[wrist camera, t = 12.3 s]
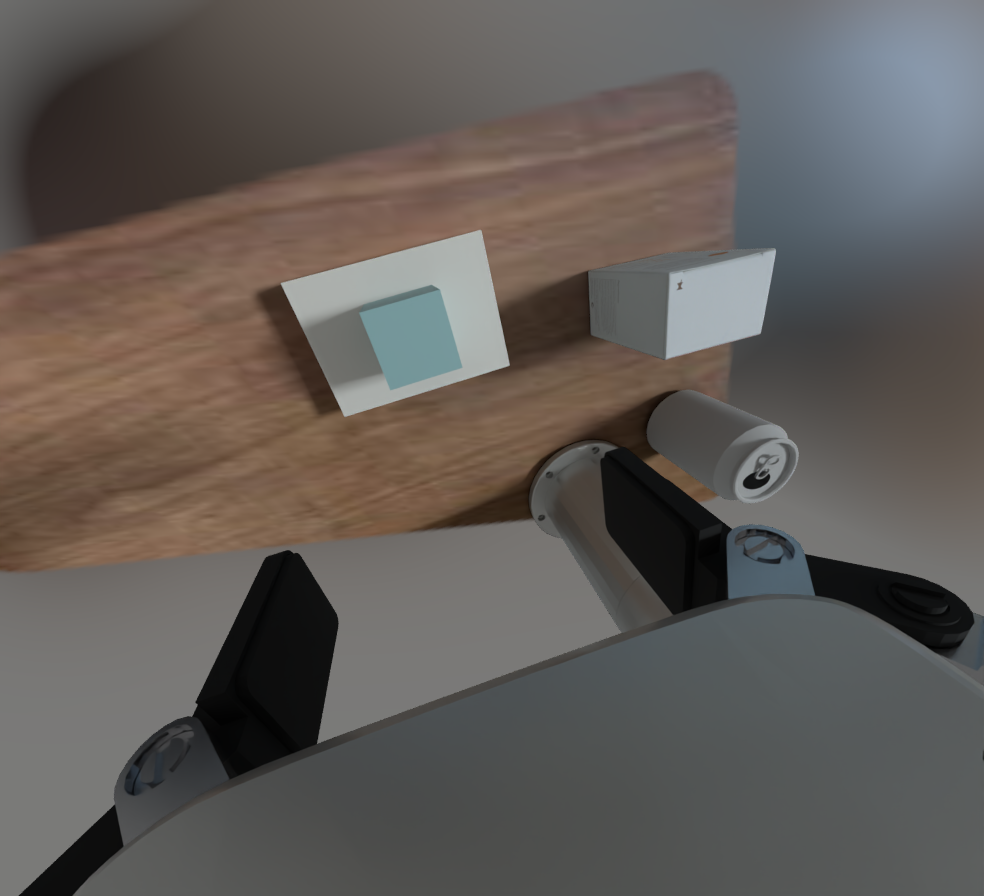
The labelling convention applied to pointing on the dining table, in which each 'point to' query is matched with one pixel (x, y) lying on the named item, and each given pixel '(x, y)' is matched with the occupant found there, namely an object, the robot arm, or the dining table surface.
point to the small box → (681, 300)
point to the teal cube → (411, 336)
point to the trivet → (343, 291)
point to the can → (722, 446)
